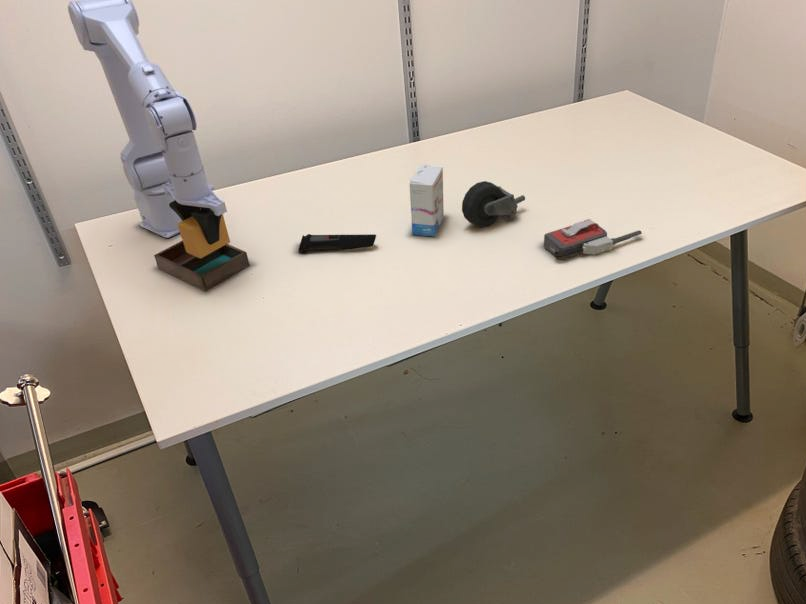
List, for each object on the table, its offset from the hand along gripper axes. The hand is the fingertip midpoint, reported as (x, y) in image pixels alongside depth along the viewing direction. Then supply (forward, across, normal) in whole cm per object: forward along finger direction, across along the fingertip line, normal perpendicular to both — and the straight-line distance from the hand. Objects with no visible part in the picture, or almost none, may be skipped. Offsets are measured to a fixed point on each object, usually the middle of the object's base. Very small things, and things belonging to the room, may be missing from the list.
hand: (206, 238), depth 133 cm
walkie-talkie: (+8, -54, -49) cm, 74 cm away
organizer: (+7, +3, 0) cm, 8 cm away
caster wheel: (+8, -33, -46) cm, 58 cm away
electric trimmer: (+8, -13, -20) cm, 25 cm away
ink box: (+8, -23, -36) cm, 44 cm away
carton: (+2, 0, 0) cm, 2 cm away
